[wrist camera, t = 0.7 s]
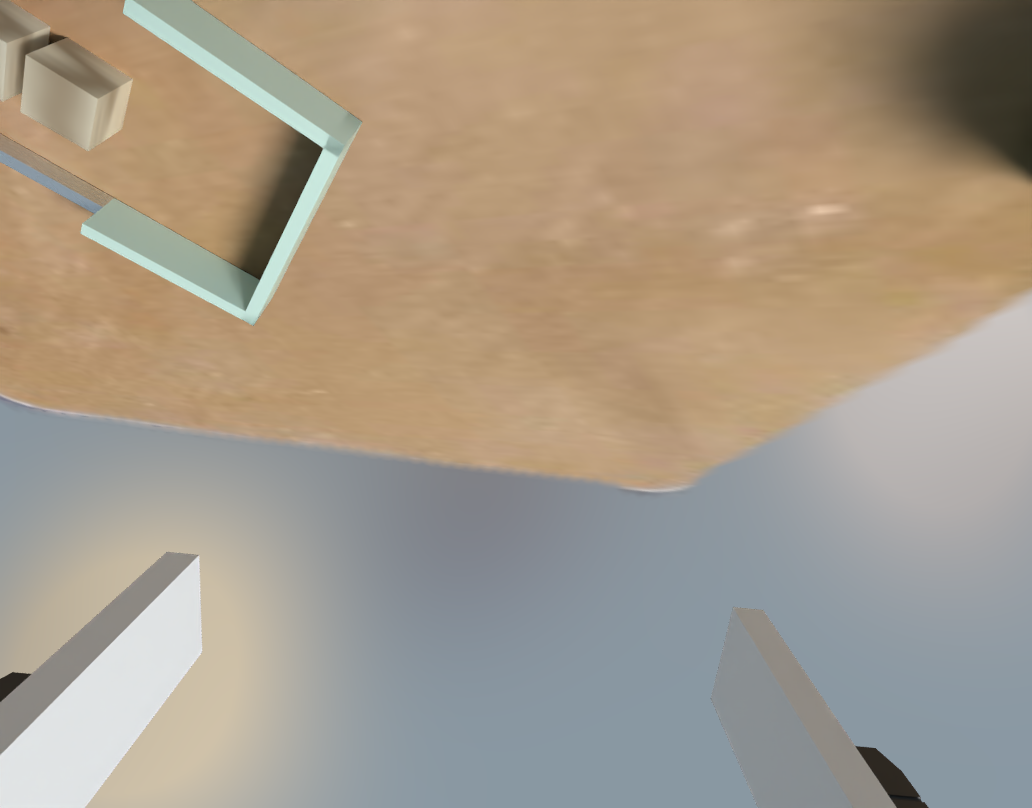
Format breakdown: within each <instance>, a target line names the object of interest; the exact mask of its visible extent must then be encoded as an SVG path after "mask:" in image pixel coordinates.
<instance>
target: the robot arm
mask: <svg viewBox="0 0 1032 808" xmlns="http://www.w3.org/2000/svg"><path fill="white" fill-rule="evenodd" d="M199 569H200V568H199V555H194V554H183V553H173V552H166V553H165V554H164V555H163V556H162V557H161V558H160V559H158V560H157V562H155V563H154V564H153V565H152V566H151V567H150V568H149V569H147V570H146V571H145V572H144V573H143V574H142V575H141V576H140V577H139V578H137V579H136V580H135V581H134V582H133V583H132V584H131V585H130V586H129V587H128V588H126V589H125V590H124V591H123V592H122V593H121V594H120V595H119V596H118V597H116V598H115V599H114V600H113V601H112V602H111V603H110V604H109V605H108V606H106V607H105V608H104V609H103V610H102V611H101V612H100V613H99V614H98V615H96V616H95V617H94V618H93V619H92V620H91V621H90V622H89V623H88V624H87V625H85V626H84V627H83V628H82V629H81V630H80V631H79V632H78V633H77V634H75V635H74V636H73V637H72V638H71V639H70V640H69V641H68V642H67V643H66V644H65V645H63V646H62V647H61V648H60V649H59V650H58V651H57V652H56V653H55V654H53V655H52V656H51V657H50V658H49V659H48V660H47V661H46V662H44V663H43V664H42V665H41V666H40V667H39V668H38V669H37V670H36V671H35V672H34V673H33V674H25V673H14V672H12V673H10V674H9V675H7V676H5V677H3V678H1V679H0V808H85V807H86V805H87V804H88V803H89V801H90V800H91V799H92V797H93V796H94V795H95V794H96V792H97V791H98V790H99V788H100V787H101V786H102V784H103V783H104V782H105V780H106V779H107V778H108V776H109V775H110V774H111V772H112V771H113V770H114V768H115V767H116V765H117V764H118V763H119V762H120V760H121V759H122V758H123V756H124V755H125V754H126V752H127V751H128V750H129V748H130V747H131V746H132V744H133V743H134V741H135V740H136V739H137V738H138V736H139V735H140V734H141V732H142V731H143V730H144V728H145V727H146V726H147V724H148V723H149V722H150V720H151V719H152V718H153V717H154V715H155V714H156V712H157V711H158V710H159V709H160V707H161V706H162V705H163V703H164V702H165V701H166V699H167V698H168V696H169V695H170V694H171V693H172V691H173V690H174V689H175V687H176V686H177V685H178V683H179V682H180V681H181V679H182V678H183V677H184V675H185V674H186V673H187V671H188V670H189V669H190V667H191V666H192V665H193V663H194V662H195V661H196V659H197V658H198V657H199V655H200V654H201V653H202V637H201V635H202V634H201V600H200V570H199ZM711 700H712V703H713V705H714V707H715V710H716V712H717V714H718V717H719V719H720V721H721V724H722V726H723V728H724V730H725V733H726V735H727V737H728V740H729V742H730V744H731V747H732V749H733V751H734V753H735V756H736V758H737V761H738V763H739V765H740V767H741V770H742V772H743V774H744V777H745V779H746V781H747V784H748V786H749V788H750V790H751V793H752V795H753V798H754V800H755V802H756V805H757V807H758V808H928V807H927V805H926V804H925V802H921V797H920V796H919V794H918V793H917V792H916V790H915V789H914V787H913V786H912V785H911V783H910V782H909V781H908V779H907V778H906V776H905V775H904V774H903V772H902V771H901V770H900V769H899V768H897V767H896V766H895V765H894V764H893V763H892V762H891V761H889V760H888V759H887V758H886V757H885V756H884V755H883V754H881V753H880V752H879V751H878V750H877V749H876V748H869V747H857V746H855V745H854V744H853V742H852V741H851V739H850V738H849V736H848V735H847V733H846V732H845V731H844V729H843V728H842V726H841V725H840V723H839V722H838V720H837V719H836V717H835V716H834V714H833V713H832V711H831V710H830V708H829V707H828V705H827V704H826V703H825V701H824V699H823V698H822V697H821V695H820V694H819V692H818V691H817V689H816V688H815V686H814V685H813V683H812V682H811V680H810V679H809V677H808V676H807V674H806V673H805V671H804V670H803V669H802V667H801V665H800V664H799V663H798V661H797V660H796V658H795V657H794V655H793V654H792V652H791V651H790V649H789V648H788V646H787V645H786V643H785V642H784V640H783V639H782V637H781V636H780V634H779V633H778V631H777V630H776V629H775V627H774V626H773V624H772V623H771V621H770V620H769V618H768V617H767V615H766V614H765V612H764V611H763V610H757V609H756V610H755V609H746V608H736V607H733V609H732V613H731V617H730V622H729V626H728V630H727V634H726V638H725V642H724V646H723V650H722V655H721V659H720V663H719V667H718V672H717V675H716V679H715V684H714V688H713V692H712V696H711Z"/></svg>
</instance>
